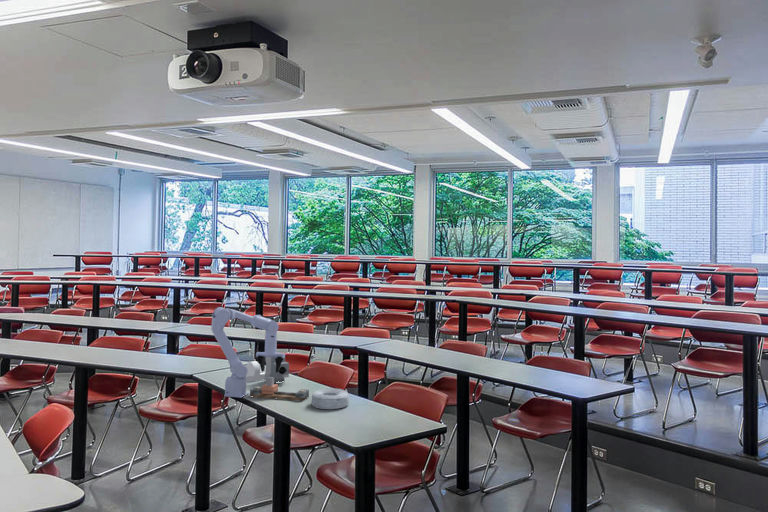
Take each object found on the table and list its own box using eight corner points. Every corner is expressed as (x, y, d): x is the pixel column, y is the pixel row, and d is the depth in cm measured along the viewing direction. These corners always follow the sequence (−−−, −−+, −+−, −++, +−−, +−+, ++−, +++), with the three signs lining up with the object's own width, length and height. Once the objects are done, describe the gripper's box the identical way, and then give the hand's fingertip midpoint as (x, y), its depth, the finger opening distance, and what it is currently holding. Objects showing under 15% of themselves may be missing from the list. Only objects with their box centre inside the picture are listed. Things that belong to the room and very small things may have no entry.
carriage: (261, 393, 263) (261, 378, 263) (266, 390, 269) (266, 376, 269) (273, 394, 262) (273, 379, 262) (277, 391, 268) (278, 376, 268)
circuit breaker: (277, 386, 285) (278, 357, 285) (264, 381, 296) (265, 353, 296) (290, 384, 290) (290, 356, 290) (277, 379, 301) (277, 352, 301)
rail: (249, 397, 263) (250, 389, 263) (256, 393, 271) (256, 385, 271) (303, 401, 258) (303, 393, 258) (308, 397, 266) (309, 389, 266)
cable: (343, 399, 264) (343, 386, 264) (354, 409, 248) (354, 395, 248) (307, 402, 258) (307, 389, 258) (316, 412, 242) (316, 398, 242)
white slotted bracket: (271, 379, 303) (272, 360, 303) (242, 383, 290) (242, 364, 291) (262, 376, 310) (263, 358, 310) (233, 380, 298) (233, 361, 298)
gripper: (287, 343, 275) (286, 370, 275) (260, 342, 278) (259, 369, 278) (282, 346, 269) (281, 373, 268) (254, 344, 271) (253, 371, 271)
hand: (270, 371), depth 273 cm, fingers open, 7 cm apart
